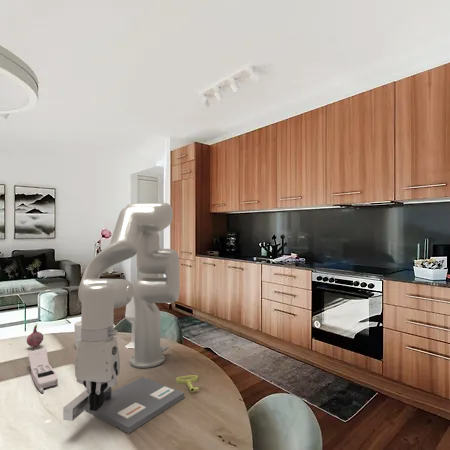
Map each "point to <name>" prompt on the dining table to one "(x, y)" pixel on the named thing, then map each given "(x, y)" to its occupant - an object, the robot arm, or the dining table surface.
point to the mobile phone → (41, 369)
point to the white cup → (77, 332)
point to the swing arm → (81, 404)
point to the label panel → (137, 403)
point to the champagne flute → (131, 320)
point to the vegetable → (35, 338)
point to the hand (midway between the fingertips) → (96, 407)
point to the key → (188, 381)
